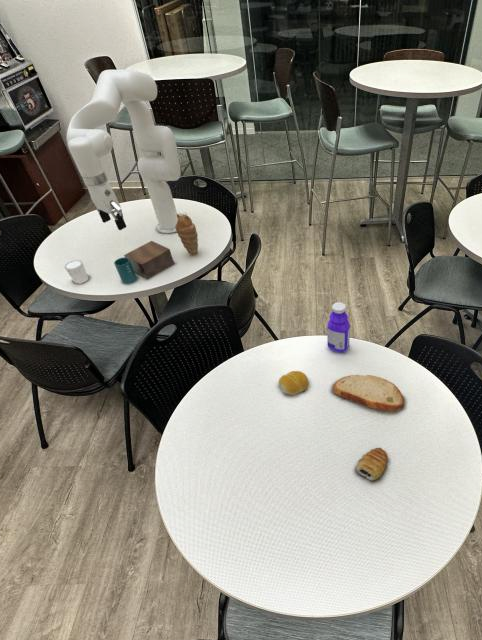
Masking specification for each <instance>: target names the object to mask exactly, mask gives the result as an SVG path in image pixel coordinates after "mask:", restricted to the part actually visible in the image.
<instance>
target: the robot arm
mask: <svg viewBox="0 0 482 640" xmlns="http://www.w3.org/2000/svg"><path fill="white" fill-rule="evenodd" d="M157 97H158V86H157V83H156V81H155V79H154V77H152V76H151V75H150V74H149V73H145V72H140V71H137V70H133V69H105V70H103V71H101V72H100V74H99V75H98V79H97V82H96V85H95V88H94V91H93V93H92V98H91V100H90V101H88V102H87V103H86V104H85V105H84V106H82V107H81V108H80V109H79V110H77V111H76V112H75V113H74V114H73V116H72V117H71V119H70V120H69V124H68V127H67V129H66V130H67V131H66V143H67V147H68V150H69V152H70V154H71V156H72V159H73V161H74V163H75V165H76V166H75V167H76V168H77V170H78V172H79V174H80V176H81V179H82V181H83V183H84V185H85V187H86V188H87V191H88V193H89V195H90V200H91V201H92V203H93V206H94V207H95V208H96V212H98V215H99V216H100V217H99V218H100V219H101V221H102V223H104V224H106V223H108V222H109V221H111V220H112V218H111V216H112V217H113V219H114V223H115V225H116V227H117V230H118V231H122V230H124V229H126V228H127V224H126V222H125V219H124V214H123V210H122V207H121V205H120V202H119V200H118V198H117V196H116V194H115V192H114V189H113V188H112V186H111V184H110V183H109V180H108V179H109V178H108V176H107V174H106V171H105V170H104V167H103V165H102V163H101V161H100V158H102V157H105V156H106V155H109V154H110V153H111V152H112V150H113V148H114V140H113V137H112V136H111V135H110V133H109V132H108V131H106V130H105V129H104V130H103V129H98V128H99V127H101V126H104V125H107V124H109V123H111V122H113V121H115V120H116V119H117V117H118V115H119V111H120V108H121V104H122V105H123V106H124V108H125V109H126V110H127V113H128V116H129V118H130V123H131V126H132V127H131V128H132V131H133V137H134V140H135V143H136V146H137V149H139V151H141V152H145V153H162V154H163V155H143V156H141V157H140V158H139V159H138V160H137V170H138V173H139V175H140V177H141V179H142V180H143V182H144V184H145V187H146V189H147V191H148V195H149V198H150V201H151V205H152V207H153V210H154V213H155V217H156V219H157V222H158V223H157V224H156V230H157V232H159V233H161V234H173V233H177V230H176V228H175V226H176V224H177V221H178V218H177V214H179V215H180V216H182V215H187V216H188V214H187V212H183V213H181V212H178V211H177V208H176V204H175V201H174V198H173V194H172V190H171V188H170V186H169V184H168V182H167V181H169V182H175V181H179V179H180V178H181V175H182V170H181V164H180V157H179V152H178V147H177V141H176V137H175V135H174V132H173V131H172V129H171V128H170V127H168V126H165V125H155V123H154V118H153V114H152V111H151V109H150V107H149V105H148V104H147V103H146V102H153V101H155V100H156V98H157Z"/></svg>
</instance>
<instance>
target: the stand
mask: <svg viewBox="0 0 482 640" xmlns="http://www.w3.org/2000/svg"><path fill="white" fill-rule="evenodd" d="M123 257H124V258H129V259H130V262H131V264H132V267H133V269H134V272H135V274H136V275H139V276H140V277H142V278H144V279H146V280H149V279H151V278H153V277H154V276H156V275H158V274H159V273H161V272H163V271H165V270H166V269H168V268H170V267H172V266H173V265H175V262H174V258H173V255H172V252H171V248H168V247H166V246H164V245H162V244H159V243H158V242H156V241H153V240H150V241H148V242H146V243H143V244H142V245H141V246H138V247H137V248H135V249H133V250H131V251H129V252H127V253H125V254H124V255H123Z"/></svg>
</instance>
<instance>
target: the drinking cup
mask: <svg viewBox="0 0 482 640" xmlns="http://www.w3.org/2000/svg"><path fill="white" fill-rule="evenodd" d="M113 263H114V266H115V269H116V271H117V273H118V275H119V278H120V280H121V282H122V284H124V285H130V284H133V283H135V282H136V281H137V280H138V277H137V273H135V272H134V269H133V267H132V264H131V262H130V259H129V258H125V257H124V256H123V257H120V258H117V259H115V261H114V262H113Z"/></svg>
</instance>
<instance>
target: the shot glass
mask: <svg viewBox="0 0 482 640" xmlns="http://www.w3.org/2000/svg"><path fill="white" fill-rule="evenodd" d="M64 269H65V270H66V272H67V273H68V276H70V278H71V279H72V281H73V282H74V283H75V284H83V283H85V282H87V281H88V280H89V275H88V272H87V270H86V268H85V265H84V262H83V261H82V260H80V259H76V260H75V259H74V260H71V261H69V262H67V263H66V264H64Z"/></svg>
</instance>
